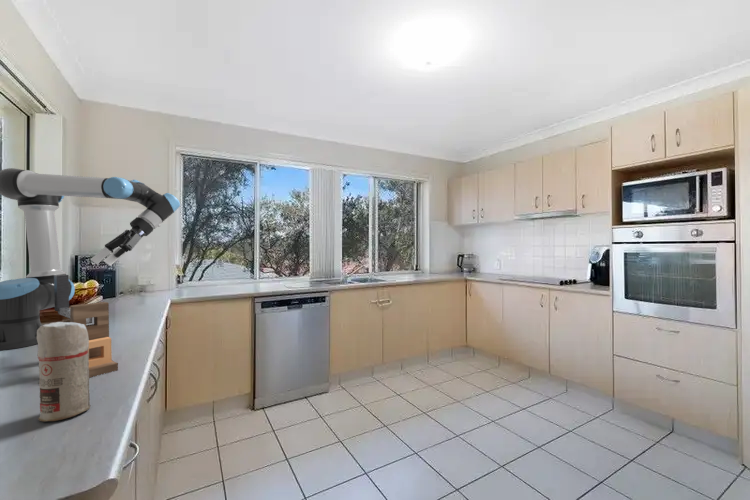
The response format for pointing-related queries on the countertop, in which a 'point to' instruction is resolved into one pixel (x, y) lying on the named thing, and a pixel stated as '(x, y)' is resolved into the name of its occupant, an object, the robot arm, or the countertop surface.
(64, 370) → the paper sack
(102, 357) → the collar
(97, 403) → the countertop surface
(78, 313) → the rail base
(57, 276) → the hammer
